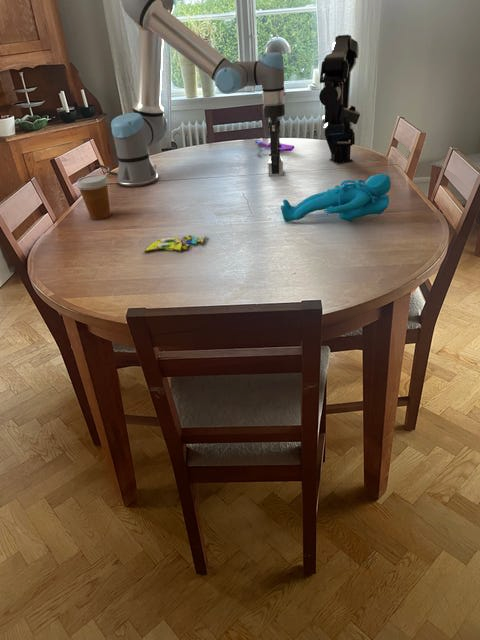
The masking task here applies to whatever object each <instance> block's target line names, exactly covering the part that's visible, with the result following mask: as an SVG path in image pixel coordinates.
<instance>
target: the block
mask: <svg viewBox="0 0 480 640" xmlns="http://www.w3.org/2000/svg"><path fill="white" fill-rule="evenodd" d="M267 162H268V163H267V166H268V167H267V168H268V169H267V170H268V176H269V177H275V176H276V177H277V176H278V177H279V176H283V175H284V158H280V159H279V174H272V168H271V158H269V159H268V161H267Z"/></svg>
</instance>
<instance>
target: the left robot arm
mask: <svg viewBox="0 0 480 640" xmlns="http://www.w3.org/2000/svg"><path fill="white" fill-rule="evenodd" d="M120 1H121V6H122V8H123V10H124V12H125V13H126V15H127V16H128V17H129V18H130V19H131V20H133V23H134V24H135V26H136V27H137V29H138V35H137V36H138V37H137V89H136V95H137V96H136V102H135V103H134V104H133V105H132V112H129V113H124V114H120V115H118V116H116V117H114V118H113V119H112V120H111V122H110V127H111V134H112V138H113V142H114V146H115V151H116V156H117V160H118V167H117V168H118V170H117V172H113V171H110V167H108V166H106V165H104V164H96V165H94V167H93V170H95V169H97V168H102V169H105V170H106V173H107V174H110V175H113V176H117V183H118V186H120V187H123V188H124V187H125V188H136V187H137V188H138V187H145V186H147V185H148V186H149V185H151V184H154V183H156V182H157V181H158V180H159V176H158V172H157V169H158V168H157V167H158V166H157V164H155V165H154V163H153V161H152V159H151V156H150V151H149V147H150V146H152V145H153V144H156V143H159V142H160V141H161V140H162V139H164V137H165V136H166V134H167V132H168V126H169V125H168V119H167V117H165V114H164V113H165V109H164V107H163V106H162V104H161V95H162V94H161V93H162V71H163V52H164V51H163V49H164V42H165V43H166V44H167V45H169V46H170V47H171V48H173V49H174V50H175V51H176V52H177V53H179V54H180V55H181V56H182V57H184V58H185V59H186V60H188V61H189V62H190V63H191V64H192V65H193V66H195V67H196V69H199V70H200V71H201V72H202V73H203V74H205V75H206V76H207V77H208V78H210V79H211V80H212V81H213V82H215V86H216V88H217V89H218V91H219V92H220V93H222V94H225V95H231V94H235V93H237V92H238V91H240V90H242V89H245V88H247V87H254V86H255V87H256V86H257V87H259V86H260V87H261V97H262V98H261V99H262V100H261V101H262V104H263V106H262V113H263V114H262V116H263V117H264V118H267V119H268V118H269V119H270V120H269V121H268V128H269V129H268V130H269V132H268V133H269V137H270V139H269V140H270V142H269V143H271V148H270V152H269V153H268V154H269V155H268V156H269V157H270V159H271V168H272V174H279V159H281V152H280V148H281V145H280V143H281V142H280V132H281V120H280V118H282V117H284V116H285V114H286V106H285V97H286V96H287V92H285V65H284V56H283V53H282V52H266V53H262V54H261V55H260V59H259V60H251V61H250V60H249V61H238V60H237V61H234V62H233V61H232V62H231V61H230V60H228V59H227V58H226V56H225V55H223V54H221V53H220V52H219V51H218V50H216V48H214V47H213V46H211V45H210V44H209V43H208V42H207V41H205V40H204V39H203V38H202V37H201V36H199V35H198V34H197V33H196V32H194V31H193V30H192V29H191V28H190V27H189V26H187V25H186V24H185V23H184V22H182V21H181V20H180V19H178V18H177V17H176V16H175V15H174V14H173V11H174V10H175V5H176V0H120Z"/></svg>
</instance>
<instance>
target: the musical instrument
mask: <svg viewBox="0 0 480 640" xmlns="http://www.w3.org/2000/svg"><path fill="white" fill-rule="evenodd" d="M254 142H255V143H256V144H258V145H261V146H264V147H263V148H261V149H260V150H259V151H257V156H265V154H260V153H261V152H262V151H263V150H265V149H266V148H268V149H271V143H270V142H269V143H266V142H263V141H261V140H260V139H259V140H254ZM280 145H281V148H280V153H282V152H292V151H293V150H294V149H295V145H292V144H287V143H281V142H280ZM269 154H270V153H267V156H269Z"/></svg>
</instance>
